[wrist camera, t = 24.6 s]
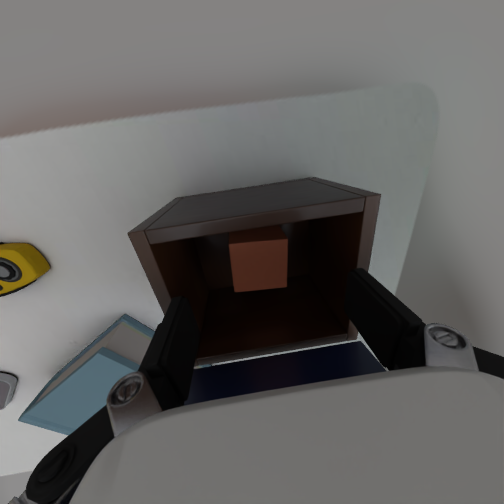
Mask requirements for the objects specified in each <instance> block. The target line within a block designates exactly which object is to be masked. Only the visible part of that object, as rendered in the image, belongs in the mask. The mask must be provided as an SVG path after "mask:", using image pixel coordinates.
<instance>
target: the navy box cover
mask: <svg viewBox="0 0 504 504" xmlns="http://www.w3.org/2000/svg"><path fill="white" fill-rule="evenodd" d="M385 371H386V370H385V369H384V368H383V366H382V365H381V364H380V363H379V362H378V361H377V359H376V358H375V357H374V356H373V355H372V354H371V352H370V351H369V350H368V349H367V348H366V346H365V345H364V344H363V343H362V342H361V341H357V342H351V343H345V344H339V345H333V346H327V347H321V348H315V349H309V350H303V351H298V352H292V353H286V354H280V355H274V356H268V357H262V358H256V359H250V360H244V361H238V362H232V363H226V364H221V365H215V366H209V367H203V368H197V369H194V370H193V376H192V381H191V386H190V392H189V397H188V400H187V401H184V406H185V405H190V404H195V403H200V402H206V401H211V400H216V399H222V398H228V397H233V396H239V395H245V394H251V393H257V392H263V391H268V390H274V389H280V388H286V387H292V386H298V385H304V384H310V383H316V382H323V381H329V380H335V379H341V378H347V377H354V376H360V375H366V374H372V373H379V372H385Z"/></svg>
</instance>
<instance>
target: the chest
mask: <svg viewBox="0 0 504 504" xmlns="http://www.w3.org/2000/svg"><path fill="white" fill-rule="evenodd" d="M380 198H381V194H378V193H374V192H370V191H366V190H362V189H359V188H355V187H351V186H347V185H343V184H339V183H335V182H331V181H328V180H324V179H320V178H316V177H312V178H305V179H298V180H292V181H285V182H278V183H272V184H265V185H259V186H252V187H245V188H239V189H232V190H225V191H219V192H212V193H205V194H199V195H192V196H185V197H179V198H175V199H174V200H172V201H171V202H169V203H168V204H167V205H165V206H164V207H163V208H161V209H160V210H159V211H157V212H156V213H154V214H153V215H152V216H150V217H149V218H148V219H146V220H145V221H144V222H142V223H141V224H139V225H138V226H137V227H135V228H134V229H133V230H131V231H130V232H128V236H129V238H130V240H131V242H132V245H133V247H134V249H135V251H136V253H137V256H138V258H139V260H140V262H141V264H142V267H143V269H144V271H145V273H146V275H147V278H148V280H149V282H150V284H151V287H152V289H153V291H154V293H155V295H156V298H157V300H158V302H159V304H160V306H161V309H162V311H163V313H164V315H165V314H166V311H167V309H168V307H169V304H170V302H171V300H172V298H173V297H179V296H184V297H185V298H188V300H189V303H190V306H191V308H192V311H193V314H194V317H195V319H196V322H197V325H198V328H199V331H200V338H199V344H198V349H197V354H196V360H195V365H194V367H196V366H201V365H207V364H213V363H219V362H225V361H231V360H237V359H243V358H249V357H254V356H260V355H266V354H272V353H278V352H284V351H290V350H296V349H302V348H308V347H314V346H320V345H326V344H332V343H338V342H343V341H350V340H356V339H357V336H358V330H357V329H356V327H355V326H354V325H353V323H352V322H351V320H350V319H349V317H348V316H347V315H346V313H345V311H344V301H345V292H346V283H347V275H348V272H350V271H351V269H357V268H363V269H365V270H366V271H367V272H368V270H369V264H370V258H371V252H372V246H373V240H374V234H375V228H376V222H377V216H378V210H379V204H380ZM274 225H279V226H280V228H281V229H282V231H283V232H284V234H285V235H286V237H287V238H288V263H287V287H283V288H273V289H263V290H253V291H243V292H234V285H233V277H232V269H231V261H230V253H229V232H235V231H242V230H248V229H255V228H261V227H268V226H274Z"/></svg>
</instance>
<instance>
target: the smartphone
mask: <svg viewBox="0 0 504 504" xmlns="http://www.w3.org/2000/svg"><path fill="white" fill-rule="evenodd" d="M16 383H17V379H16V378H15V377H13V376H11V375H8V374H4V373H0V410H2V409H4V408H5V407H6V406H7V405H8V404H9V403H10V401H11V398H12V395H13V392H14V389H15V386H16Z"/></svg>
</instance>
